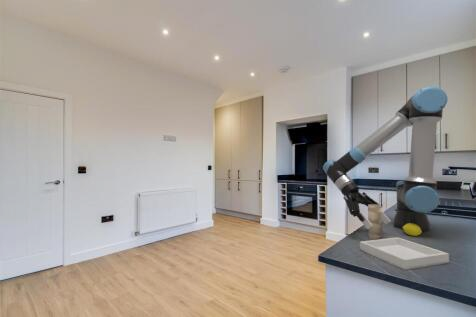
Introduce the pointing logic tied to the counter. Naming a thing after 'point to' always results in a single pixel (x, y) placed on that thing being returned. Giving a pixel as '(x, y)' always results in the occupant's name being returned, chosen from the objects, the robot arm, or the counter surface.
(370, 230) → the dowel
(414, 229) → the lemon
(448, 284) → the counter surface
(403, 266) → the tray
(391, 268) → the counter surface
